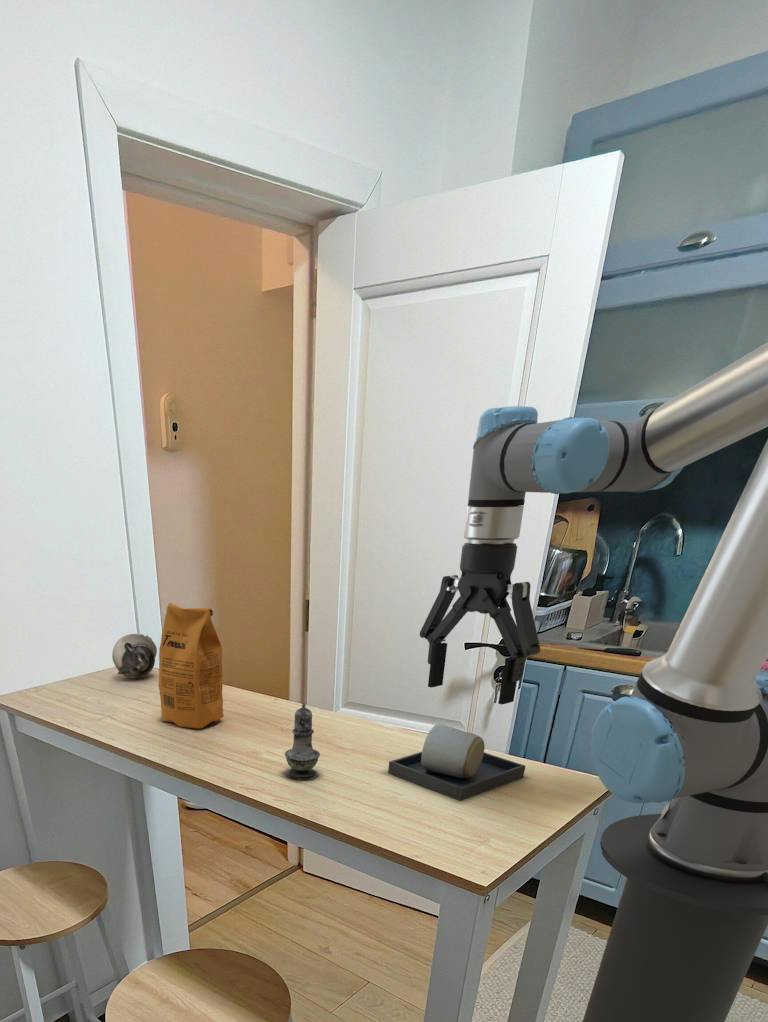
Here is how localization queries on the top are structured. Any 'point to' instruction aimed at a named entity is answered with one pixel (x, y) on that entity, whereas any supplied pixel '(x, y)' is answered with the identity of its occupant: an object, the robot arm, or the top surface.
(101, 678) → the top surface
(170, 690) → the coffee package
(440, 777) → the tray
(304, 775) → the dark chess piece
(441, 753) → the ceramic mug
